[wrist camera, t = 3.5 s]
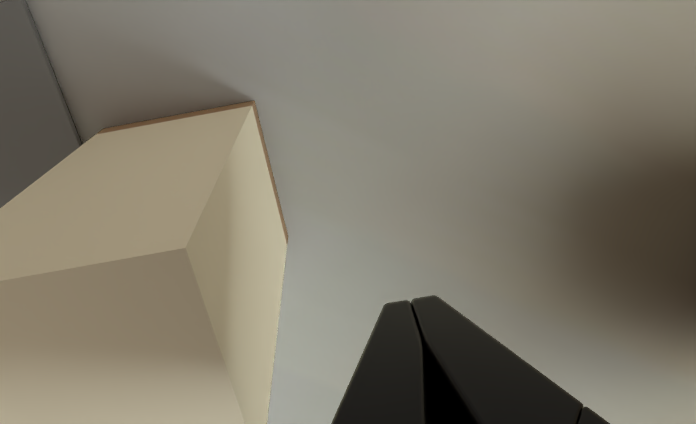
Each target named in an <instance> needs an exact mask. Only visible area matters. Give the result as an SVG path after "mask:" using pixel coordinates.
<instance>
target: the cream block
mask: <svg viewBox="0 0 696 424" xmlns="http://www.w3.org/2000/svg"><path fill="white" fill-rule="evenodd" d="M287 243H288V234H287V230H286V226H285V222H284V218H283V214H282V210H281V206H280V202H279V198H278V194H277V189H276V185H275V181H274V177H273V173H272V169H271V165H270V161H269V157H268V153H267V149H266V145H265V141H264V137H263V133H262V129H261V125H260V121H259V117H258V113H257V109H256V105H255V101H249V102H244V103H239V104H233V105H228V106H222V107H217V108H212V109H206V110H201V111H196V112H190V113H185V114H179V115H174V116H169V117H163V118H158V119H152V120H147V121H142V122H136V123H131V124H125V125H120V126H115V127H109V128H104V129H102V130H101V131H100V132H98V133H97V134H96V135H94V136H93V137H92V138H91V139H89V140H88V141H87V142H85V143H84V144H83V145H81V146H80V147H79V148H78V149H76V150H75V151H74V152H72V153H71V154H70V155H69V156H67V157H66V158H65V159H63V160H62V161H61V162H60V163H58V164H57V165H56V166H54V167H53V168H52V169H50V170H49V171H48V172H47V173H45V174H44V175H43V176H41V177H40V178H39V179H38V180H36V181H35V182H34V183H32V184H31V185H30V186H28V187H27V188H26V189H25V190H23V191H22V192H21V193H19V194H18V195H17V196H16V197H14V198H13V199H12V200H10V201H9V202H8V203H6V204H5V205H4V206H3V207H1V208H0V424H267V419H268V410H269V401H270V392H271V384H272V375H273V366H274V357H275V348H276V340H277V331H278V322H279V313H280V304H281V296H282V287H283V278H284V269H285V261H286V252H287Z"/></svg>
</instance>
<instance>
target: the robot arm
mask: <svg viewBox="0 0 696 424" xmlns="http://www.w3.org/2000/svg"><path fill="white" fill-rule="evenodd" d="M331 424H610V423H608V422H607V421H606V420H604V419H603V418H602V417H600V416H599V415H598V414H596V413H595V412H593V411H592V410H591V409H589V408H588V407H583V404H582V403H581V402H580V401H578V400H577V399H575V398H574V397H573V396H571V395H570V394H569V393H567V392H566V391H565V390H563V389H562V388H561V387H559V386H558V385H557V384H555V383H554V382H553V381H551V380H550V379H548V378H547V377H546V376H544V375H543V374H542V373H540V372H539V371H538V370H536V369H535V368H534V367H532V366H531V365H530V364H528V363H527V362H525V361H524V360H523V359H521V358H520V357H519V356H517V355H516V354H515V353H513V352H512V351H511V350H509V349H508V348H507V347H505V346H504V345H502V344H501V343H500V342H498V341H497V340H496V339H494V338H493V337H492V336H490V335H489V334H488V333H486V332H485V331H484V330H482V329H481V328H479V327H478V326H477V325H475V324H474V323H473V322H471V321H470V320H469V319H467V318H466V317H465V316H463V315H462V314H461V313H459V312H458V311H457V310H455V309H454V308H452V307H451V306H450V305H448V304H447V303H446V302H444V301H443V300H442V299H440V298H439V297H437V296H435V295H432V296H427V297H421V298H415V299H413V300H412V301H411V303H410V302H409V301H407V300H404V301H398V302H392V303H387V304H385V305H384V307H383V308H382V311H381V313H380V315H379V317H378V320H377V322H376V324H375V327H374V329H373V331H372V333H371V336H370V338H369V340H368V342H367V345H366V347H365V349H364V351H363V354H362V356H361V358H360V360H359V363H358V365H357V367H356V369H355V372H354V374H353V376H352V378H351V381H350V383H349V385H348V387H347V390H346V392H345V394H344V396H343V399H342V401H341V403H340V405H339V408H338V410H337V412H336V414H335V417H334V419H333V421H332V423H331Z"/></svg>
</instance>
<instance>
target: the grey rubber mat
mask: <svg viewBox="0 0 696 424" xmlns="http://www.w3.org/2000/svg"><path fill="white" fill-rule="evenodd" d="M81 145H82V143H81V141H80V138H79V136H78V133H77V131H76V128H75V125H74V123H73V120H72V118H71V115H70V113H69V110H68V108H67V105H66V103H65V100H64V98H63V95H62V93H61V90H60V87H59V85H58V82H57V80H56V77H55V75H54V72H53V70H52V67H51V65H50V62H49V60H48V57H47V55H46V52H45V49H44V47H43V44H42V42H41V39H40V37H39V34H38V32H37V29H36V27H35V24H34V22H33V19H32V17H31V14H30V11H29V9H28V6H27V4H26V1H25V0H9V1H4V2H0V208H1V207H3V206H4V205H5V204H6V203H8V202H9V201H10V200H12V199H13V198H14V197H16V196H17V195H18V194H19V193H21V192H22V191H23V190H25V189H26V188H27V187H28V186H30V185H31V184H32V183H34V182H35V181H36V180H38V179H39V178H40V177H41V176H43V175H44V174H45V173H47V172H48V171H49V170H50V169H52V168H53V167H54V166H56V165H57V164H58V163H60V162H61V161H62V160H63V159H65V158H66V157H67V156H69V155H70V154H71V153H72V152H74V151H75V150H76V149H78V148H79V147H80V146H81Z"/></svg>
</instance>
